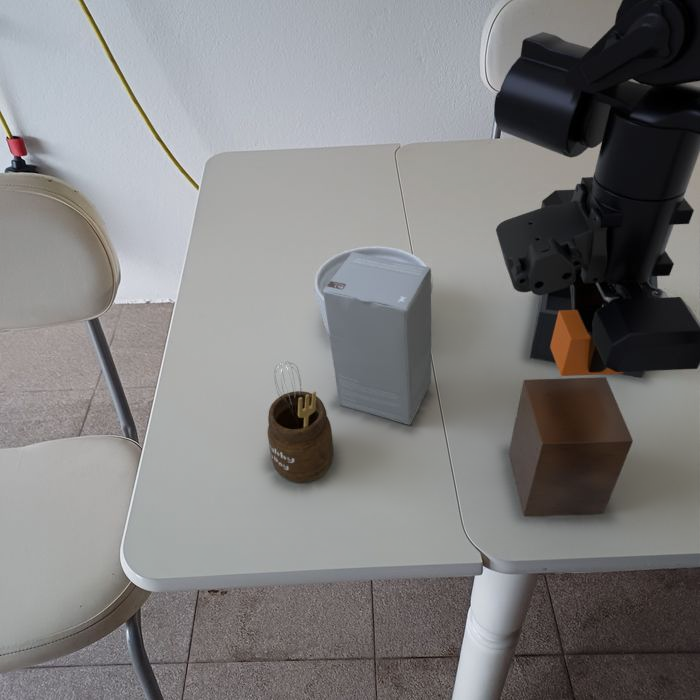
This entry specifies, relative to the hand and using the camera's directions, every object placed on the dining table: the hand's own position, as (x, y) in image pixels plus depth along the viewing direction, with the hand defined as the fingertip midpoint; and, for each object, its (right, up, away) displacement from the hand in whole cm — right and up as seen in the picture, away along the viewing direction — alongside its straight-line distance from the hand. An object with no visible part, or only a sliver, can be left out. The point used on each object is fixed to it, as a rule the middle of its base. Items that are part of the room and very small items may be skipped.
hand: (587, 354), depth 53 cm
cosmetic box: (-16, -5, +15) cm, 23 cm away
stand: (-1, -12, +7) cm, 14 cm away
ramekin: (-16, +3, +24) cm, 29 cm away
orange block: (0, 0, 0) cm, 1 cm away
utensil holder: (-24, -10, +10) cm, 28 cm away
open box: (+8, +2, +21) cm, 23 cm away
